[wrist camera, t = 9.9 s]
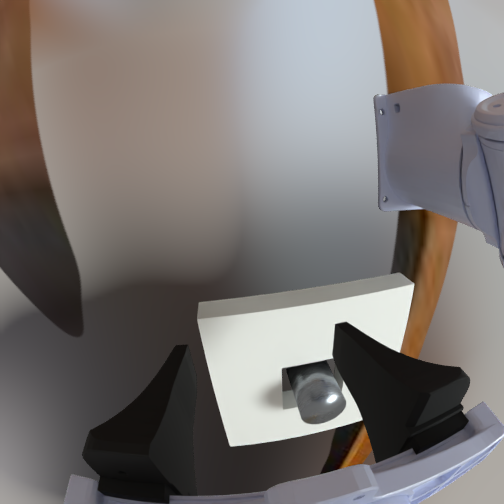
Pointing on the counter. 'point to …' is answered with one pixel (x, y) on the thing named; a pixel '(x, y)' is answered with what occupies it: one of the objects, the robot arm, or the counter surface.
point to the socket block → (291, 349)
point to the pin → (316, 392)
